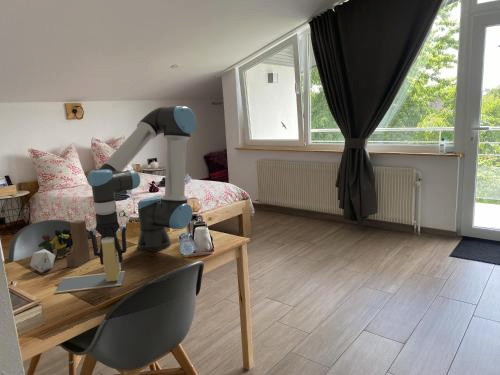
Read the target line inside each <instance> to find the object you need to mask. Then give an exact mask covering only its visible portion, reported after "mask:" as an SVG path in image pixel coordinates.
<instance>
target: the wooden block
mask: <svg viewBox="0 0 500 375" xmlns="http://www.w3.org/2000/svg"><path fill="white" fill-rule="evenodd" d="M69 225H70V226H69V227H70V232H71V234H72V241H73V246H72V249H73V250H72V251H70V254H67V256H65V257H66V258H65V259H66V260H65V261H66V266H67V267H68V268H69V267H70V268H77V267H79V266H81V265H83V264H85V263H87V262H89V261H91V255H90V246H89V238H88V232H87V223H86V220H83V219H82V220H81V219H77V220H74V221H71V222H70V223H69Z"/></svg>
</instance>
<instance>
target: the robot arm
mask: <svg viewBox="0 0 500 375" xmlns="http://www.w3.org/2000/svg"><path fill="white" fill-rule="evenodd" d="M196 129H197V117H196V115H195V113H194V111H193V110H192V109H191V108H190V107H188V106H182V105H181V106H180V105H177V106H160V107H157V108H155V109H153V110H151V111H150V112H149V113H147V114H146V115H144V116H143V118H142V119H141V120H139V122H138V123H137V125H136V128H135V129H134V130H133V132H132V133H131V134H130V135H129V136H128V137H127V138H126V139H125V140H124V142H122V144H120V146H119V147H117V149H116V150H115V151H114V152H113V154H111V155H110V157H108V159H106V161H104V163H103V164H102V165H101V166H100V167H99V168H96V169H92V170H90V171H89V172H88V173H87V177H86V181H87V183H88V185H89V186H90V187H91V191H92V198H93V208H94V213H95V214H94V215H95V223H96V226H95V228H92V229H89V233H88V234H89V236H90V238H91V244H92V250H93V256H95V257H99V260H100V261H99V262H100V265H101V266H102V265H103V269H104V272H105V266H104V258H103V249H102V243H101V242H100V247H98V246H99V245H98V241H97V240H98V239H97V236H96V235H97V233H98V234H99V235H100V241H101V240H102V238H105V237H108V236H110V237H114V242H115V247H116V250H117V255H116V260H117V268H118V272H120V271H122V270H121V269H122V268H121V267H122V266H121V264H122V263H123V254H125V253H126V252H127V248H128V247H127V234H126V233H127V232H126V231H127V228H128V227H127V225H125V226H123V225H121V224H120V223H119V221H118V219H119V218H118V212H117V203H116V194H119V193H122V192H127V191H132V190H135V189H137V188H138V187H139V186H140V184H141V176H140V175H139V173H138V172H137V171H136V170H135V169H130V170H128V169H127V170H125V169H126V168H127V167H128V166H129V164H131V162H132V161H133V160H134V159H135V158H136V156H138V155H139V153H140V152H141V151H142V149H144V147H145V146H146V145H147V144H148V143H149V142H150V141H151V140H154V139H156V137H157V136H159V135H160V134H161V135H162V134H163V138H164V139H165V140H166V153H165V154H166V158H165V160H166V161H165V182H164V183H165V184H164V186H165V187H164V195H163V196H160V195H159V196H153V197H152V196H151V197H148V198H147V197H146V198H143V199H141V200H139V201H138V203H137V213H138V214H137V215H138V223H139V235H138V239H137V240H138V241H137V248H138V250H140V251H144V252H156V251H160V250H164V249H166V248H168V247H170V246H171V245H172V244H171V243H172V242H171V238H170V236H169V233H168V231H167V229H172V230H182V229H185V228H186V227H187V226H189V224H190V223H191V221H192V219H193V212H194V211H193V208H192V206H191V205H190V204H189V203H188V197H187V196H186V195H185V193H186V192H185V191H186V189H185V188H186V187H185V186H186V166H187V165H186V164H187V144H188V143H187V142H188V141H189V140H190V139H191V134H192V133H194V132H195V130H196ZM166 228H167V229H166ZM118 231H119V232H120V233H121V245H120V241H119V239H118V236H117V232H118ZM121 247H122V248H121Z"/></svg>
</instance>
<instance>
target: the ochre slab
mask: <svg viewBox="0 0 500 375" xmlns="http://www.w3.org/2000/svg"><path fill="white" fill-rule="evenodd" d="M101 243H102V249H103V258H104V265H103V267H104V266H105V271H104V273H105V274H106V282H108V281H116V280H118V278H119V274H120V272H118V268H117V260H116V255H117V250H116V247H115V242H114V237H110V236H108V237H105V238H102V240H101V239H100V244H101Z"/></svg>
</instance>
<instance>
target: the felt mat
mask: <svg viewBox="0 0 500 375" xmlns="http://www.w3.org/2000/svg"><path fill="white" fill-rule="evenodd" d="M125 274H126V271H125V270H120V274H119V278H118V280H116V281H108V282H106V274H105V272H104V273H102V272H101V273H94V274H93V273H92V274H84V275H77V276H69V277H67V276H66V277H63V278H62V279H61V281H60V283H59V284H58V286H57V288H56V289H55V291H54V293H53V294H54V295H57V294H64V293H75V292H82V291H91V290H100V289H109V288H115V287H121V286H122V285H123V281H124V277H125Z"/></svg>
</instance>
